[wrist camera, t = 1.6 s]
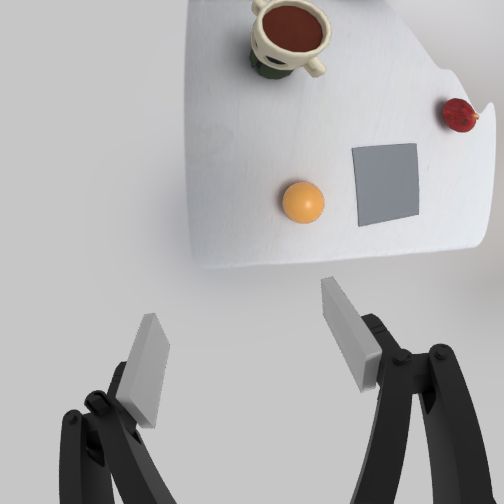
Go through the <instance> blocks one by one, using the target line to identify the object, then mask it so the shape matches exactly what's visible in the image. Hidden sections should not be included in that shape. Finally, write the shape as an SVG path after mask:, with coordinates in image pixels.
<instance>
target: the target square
mask: <svg viewBox="0 0 504 504" xmlns="http://www.w3.org/2000/svg"><path fill="white" fill-rule="evenodd" d="M352 153H353V162H354V171H355V181H356V192H357V206H358V223H359V227H360V226H365V225H370V224H375V223H380V222H384V221H389V220H394V219H399V218H404V217H409V216H414V215H419V175H418V157H417V144H397V145H382V146H370V147H359V148H352Z"/></svg>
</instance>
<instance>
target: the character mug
mask: <svg viewBox="0 0 504 504" xmlns="http://www.w3.org/2000/svg"><path fill="white" fill-rule="evenodd" d="M252 11H253V13H254V14H255V15H256V16H257V19H256V20H255V22H254V25H253V29H252V32H251V46H252V50H251V53H250V62H251V66H252V67H254V66H255V64H256V65H257V67H258V68H259V70H258V72H257V73H258V74H259V75H262V76H264V77H266V78H269V79H280V78H283V77H285V76H288V75H290V74H291V73H292V72H293V70H294V69H296V68H299V67H302V66H303V67H304V68H305V69H306V70H307V72H308V73H309V74H310V75H311V76H312V77H314V78H316V77H319V76H321V75H323V74H324V73H325V72H326V67H325V66H324V64H323V63H322V62H321V60H320V59H319V58H318V57H317V55H318V54H319V53H320V52H321V51H322V50H323V49H325V48H326V47H327V46H328V44H329V41H330V38H331V35H332V31H331V25H330V21H329V20H328V18H327V17H326V15H325V13H324V12H323V11H322V10H321V9H319V8H318V7H317V6H315V5H314V4H313V3H311V2H308V1H305V0H271V1H270V2H269V3H267V2H266V1H265V0H254V1H253V4H252Z"/></svg>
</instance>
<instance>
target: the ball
mask: <svg viewBox="0 0 504 504" xmlns="http://www.w3.org/2000/svg"><path fill="white" fill-rule="evenodd" d="M283 209H284V211H285V213H286V215H287V216H288V217H289V218H290V219H291V220H293V221H294V222H297V223H301V224H307V223H311V222H313V221H315V220H316V219H318V218H319V217H320V215H321V214H322V212H323V209H324V197H323V194H322V192H321V191H320V190H319V188H318V187H316V186H315V185H314V184H311V183H308V182H298V183H295V184H293V185H291V186H290V187H289V188H288V189H287V190H286V192H285V194H284V196H283Z"/></svg>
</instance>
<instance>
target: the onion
mask: <svg viewBox="0 0 504 504" xmlns="http://www.w3.org/2000/svg"><path fill="white" fill-rule="evenodd" d="M443 117H444V119H445V122H446V123H447V125H448V126H449V127H450V128H451V129H453V130H455V131H457V132H468V131H470V130H471V129H472V128H473V127H474V125H475V123H476V119H477V120H478V119H479V115H478V114H477V113H475V111H474V110H473V108H472V107H471V105H470V104H468V103H467V102H466V101H465V100H463V99H458V98H453V99H451V100H448V101H447V102H446V104H445V105H444V109H443Z"/></svg>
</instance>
